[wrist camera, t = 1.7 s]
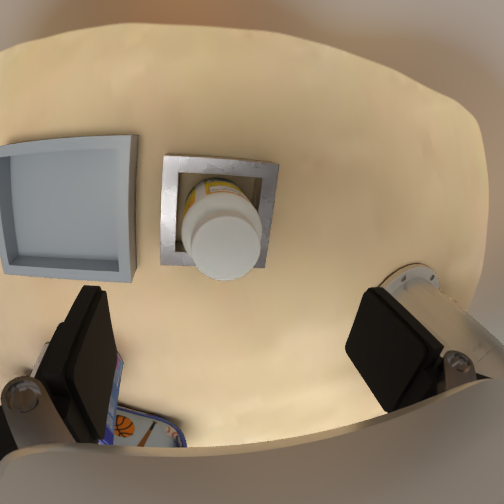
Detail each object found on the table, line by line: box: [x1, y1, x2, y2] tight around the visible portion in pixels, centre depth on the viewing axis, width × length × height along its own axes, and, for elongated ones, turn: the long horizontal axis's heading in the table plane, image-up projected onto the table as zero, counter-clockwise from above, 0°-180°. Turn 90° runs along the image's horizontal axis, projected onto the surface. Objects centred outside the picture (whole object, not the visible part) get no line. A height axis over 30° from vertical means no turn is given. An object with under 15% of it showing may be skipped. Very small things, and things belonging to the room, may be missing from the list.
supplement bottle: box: [181, 178, 262, 281], centre depth 21 cm, size 5×5×10 cm
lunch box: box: [113, 405, 187, 448], centre depth 23 cm, size 28×10×22 cm, turn 64°
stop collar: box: [160, 154, 279, 268], centre depth 24 cm, size 9×9×2 cm
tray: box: [0, 135, 139, 283], centre depth 21 cm, size 14×12×3 cm
